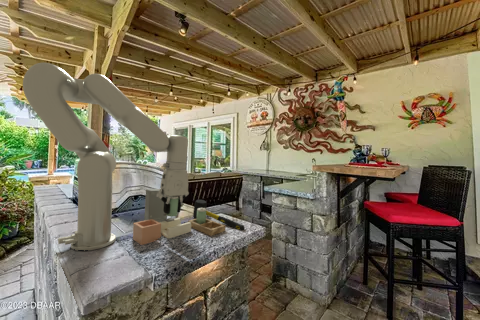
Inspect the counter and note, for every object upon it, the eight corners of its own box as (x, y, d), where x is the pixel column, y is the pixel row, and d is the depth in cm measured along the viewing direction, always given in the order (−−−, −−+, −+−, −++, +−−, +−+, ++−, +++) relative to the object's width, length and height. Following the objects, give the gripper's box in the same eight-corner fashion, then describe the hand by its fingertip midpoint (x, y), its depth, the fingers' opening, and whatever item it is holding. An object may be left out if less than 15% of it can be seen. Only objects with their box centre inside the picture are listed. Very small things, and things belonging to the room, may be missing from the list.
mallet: (247, 230, 89) (248, 208, 89) (239, 234, 84) (240, 211, 84) (199, 216, 105) (199, 198, 105) (190, 219, 100) (191, 200, 100)
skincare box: (148, 228, 85) (149, 191, 85) (143, 223, 91) (144, 188, 90) (168, 224, 91) (169, 189, 91) (162, 220, 96) (163, 187, 96)
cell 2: (200, 228, 86) (201, 209, 86) (194, 225, 89) (195, 208, 89) (207, 226, 89) (208, 208, 89) (201, 223, 92) (202, 206, 92)
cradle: (168, 240, 74) (168, 227, 74) (156, 233, 81) (156, 221, 80) (190, 233, 82) (191, 221, 82) (178, 227, 88) (178, 216, 88)
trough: (210, 237, 79) (211, 230, 79) (187, 227, 89) (187, 220, 89) (225, 232, 85) (225, 225, 85) (202, 223, 95) (202, 217, 95)
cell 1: (169, 217, 78) (171, 196, 78) (164, 214, 80) (166, 194, 80) (179, 215, 81) (180, 195, 81) (173, 212, 83) (175, 193, 83)
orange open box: (141, 245, 70) (142, 228, 70) (132, 239, 74) (133, 222, 74) (160, 239, 75) (161, 223, 75) (151, 234, 80) (152, 218, 80)
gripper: (160, 166, 72) (156, 218, 72) (198, 168, 84) (194, 211, 84) (150, 165, 76) (146, 213, 77) (188, 166, 89) (184, 207, 89)
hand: (172, 211), depth 80 cm, fingers closed on cell 1, 4 cm apart
